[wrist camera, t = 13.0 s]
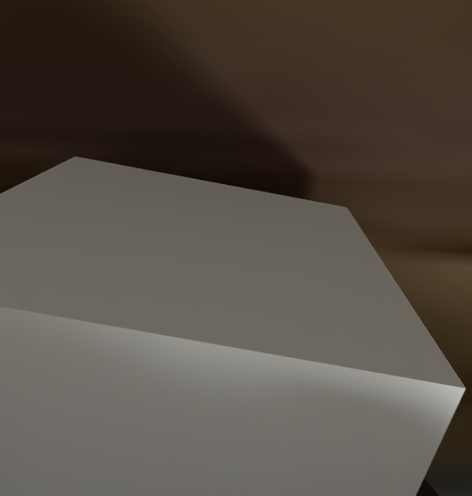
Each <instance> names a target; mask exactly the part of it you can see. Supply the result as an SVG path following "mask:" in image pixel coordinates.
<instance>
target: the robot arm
mask: <svg viewBox="0 0 472 496" xmlns="http://www.w3.org/2000/svg"><path fill="white" fill-rule="evenodd" d="M416 496H439V495H438V494H437V493H436V491H435V490H434V489H433V488H432V487H431V486H430V485H429V484H428V483H427V481H426V480H425V479H423V481H422V483H421V486H420V488H419V490H418V492H417V494H416Z"/></svg>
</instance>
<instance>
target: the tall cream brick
mask: <svg viewBox="0 0 472 496" xmlns="http://www.w3.org/2000/svg"><path fill="white" fill-rule="evenodd" d="M465 389H466V388H465V386H464V385H463V383H462V382H461V380H460V379H459V377H458V376H457V374H456V373H455V371H454V370H453V368H452V367H451V365H450V364H449V362H448V361H447V359H446V358H445V356H444V355H443V353H442V351H441V350H440V348H439V347H438V345H437V344H436V342H435V341H434V339H433V338H432V336H431V335H430V333H429V332H428V330H427V329H426V327H425V326H424V324H423V323H422V321H421V319H420V318H419V316H418V315H417V313H416V312H415V310H414V309H413V307H412V306H411V304H410V303H409V301H408V300H407V298H406V297H405V295H404V294H403V292H402V291H401V289H400V288H399V286H398V284H397V283H396V281H395V280H394V278H393V277H392V275H391V274H390V272H389V271H388V269H387V268H386V266H385V265H384V263H383V262H382V260H381V259H380V257H379V256H378V254H377V252H376V251H375V249H374V248H373V246H372V245H371V243H370V242H369V240H368V239H367V237H366V236H365V234H364V233H363V231H362V230H361V228H360V227H359V225H358V224H357V222H356V221H355V219H354V217H353V216H352V214H351V213H350V211H349V210H348V208H347V207H342V206H337V205H331V204H326V203H321V202H315V201H310V200H305V199H299V198H294V197H289V196H283V195H278V194H273V193H267V192H262V191H257V190H251V189H246V188H241V187H235V186H230V185H225V184H219V183H214V182H209V181H203V180H198V179H193V178H187V177H182V176H177V175H171V174H166V173H161V172H155V171H150V170H145V169H139V168H134V167H129V166H123V165H118V164H113V163H107V162H102V161H97V160H91V159H86V158H81V157H73V158H71V159H69V160H67V161H65V162H63V163H61V164H59V165H57V166H55V167H53V168H51V169H49V170H47V171H45V172H43V173H41V174H39V175H37V176H35V177H33V178H31V179H29V180H27V181H25V182H23V183H21V184H19V185H17V186H15V187H13V188H11V189H9V190H7V191H5V192H3V193H1V194H0V496H416V494H417V492H418V490H419V488H420V486H421V483H422V481H423V479H424V477H425V475H426V473H427V471H428V468H429V466H430V464H431V462H432V460H433V458H434V456H435V453H436V451H437V449H438V447H439V445H440V443H441V440H442V438H443V436H444V434H445V432H446V430H447V428H448V425H449V423H450V421H451V419H452V417H453V415H454V413H455V410H456V408H457V406H458V404H459V402H460V400H461V398H462V395H463V393H464V391H465Z"/></svg>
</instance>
